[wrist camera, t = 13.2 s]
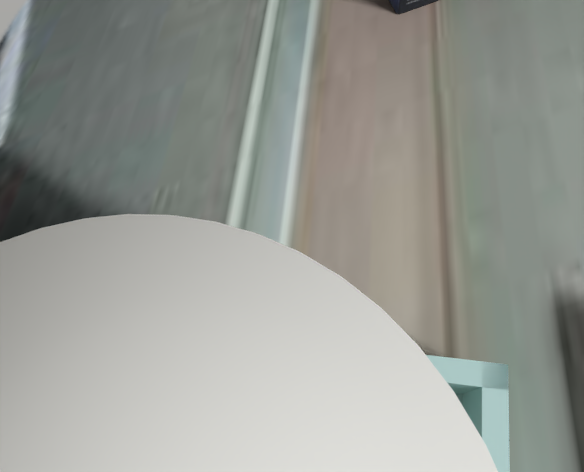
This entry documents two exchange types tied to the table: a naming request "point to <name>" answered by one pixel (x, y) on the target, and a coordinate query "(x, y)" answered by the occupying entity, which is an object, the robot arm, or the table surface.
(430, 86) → the table surface
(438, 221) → the table surface
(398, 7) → the small box
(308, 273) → the white tapered cylinder
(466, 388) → the tote
